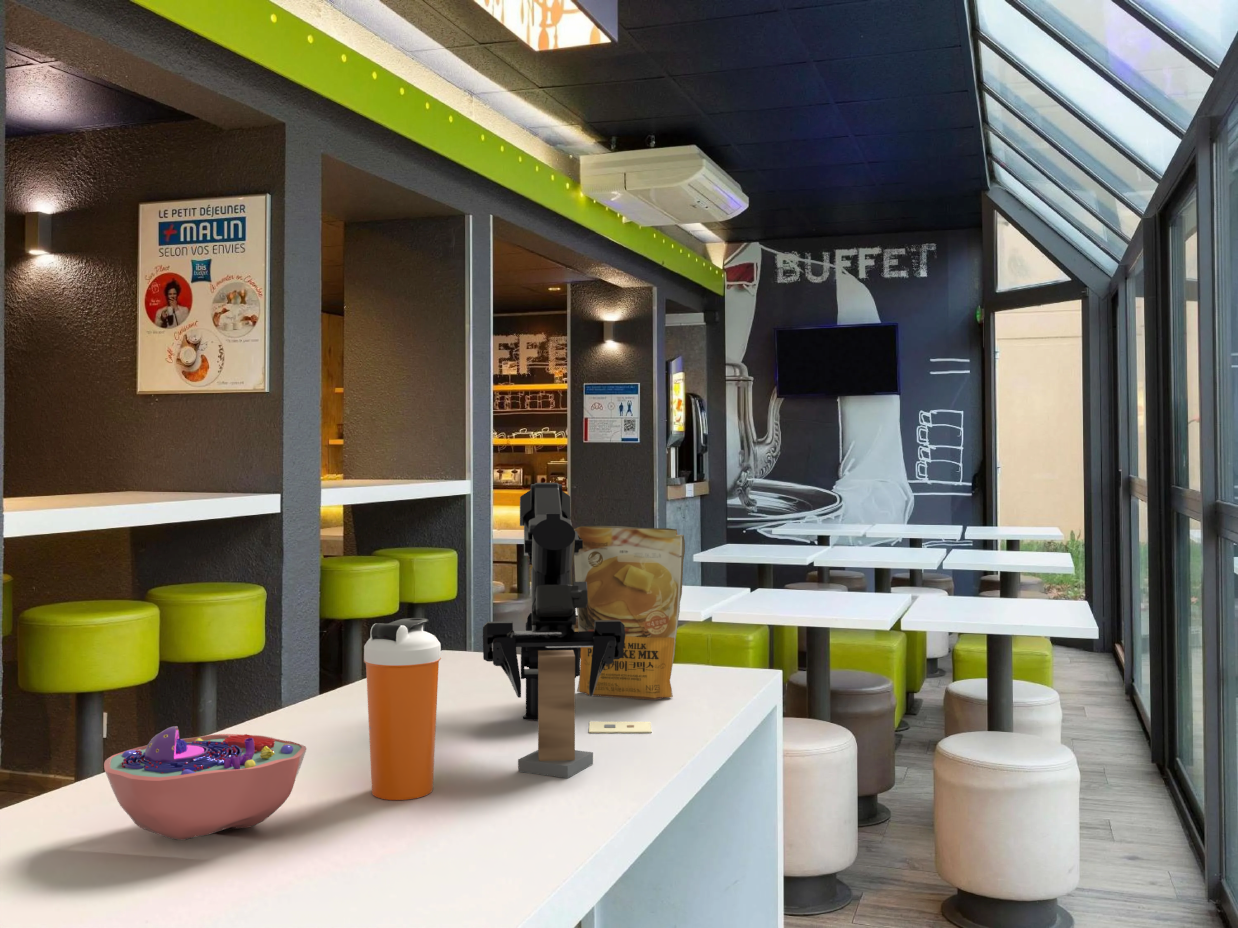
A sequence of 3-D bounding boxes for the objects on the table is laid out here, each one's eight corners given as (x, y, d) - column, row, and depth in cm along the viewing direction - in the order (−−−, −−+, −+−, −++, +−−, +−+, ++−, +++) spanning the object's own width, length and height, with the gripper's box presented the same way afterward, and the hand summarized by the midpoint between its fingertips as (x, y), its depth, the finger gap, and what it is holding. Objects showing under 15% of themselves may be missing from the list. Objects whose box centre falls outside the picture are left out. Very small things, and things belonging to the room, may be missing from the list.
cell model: (307, 850, 111) (307, 737, 111) (88, 870, 105) (88, 751, 105) (305, 800, 127) (305, 701, 127) (115, 815, 121) (115, 712, 121)
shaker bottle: (454, 784, 133) (454, 618, 133) (417, 806, 124) (417, 628, 124) (389, 777, 136) (389, 614, 136) (348, 798, 127) (348, 624, 127)
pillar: (538, 751, 142) (538, 650, 142) (572, 750, 143) (573, 649, 143) (538, 760, 138) (538, 656, 138) (574, 759, 138) (575, 656, 138)
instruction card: (588, 732, 158) (588, 730, 158) (589, 722, 164) (589, 720, 164) (651, 732, 158) (651, 730, 158) (650, 722, 164) (650, 720, 164)
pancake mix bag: (577, 687, 190) (577, 524, 190) (686, 693, 185) (686, 526, 185) (565, 695, 184) (565, 526, 184) (677, 702, 179) (677, 528, 178)
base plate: (518, 771, 138) (518, 759, 138) (544, 757, 145) (544, 746, 145) (567, 777, 136) (567, 765, 136) (592, 763, 142) (592, 752, 142)
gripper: (483, 560, 146) (481, 660, 135) (624, 559, 147) (633, 658, 137) (484, 611, 154) (482, 709, 143) (618, 609, 155) (626, 706, 145)
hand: (555, 694), depth 142 cm, fingers open, 9 cm apart
